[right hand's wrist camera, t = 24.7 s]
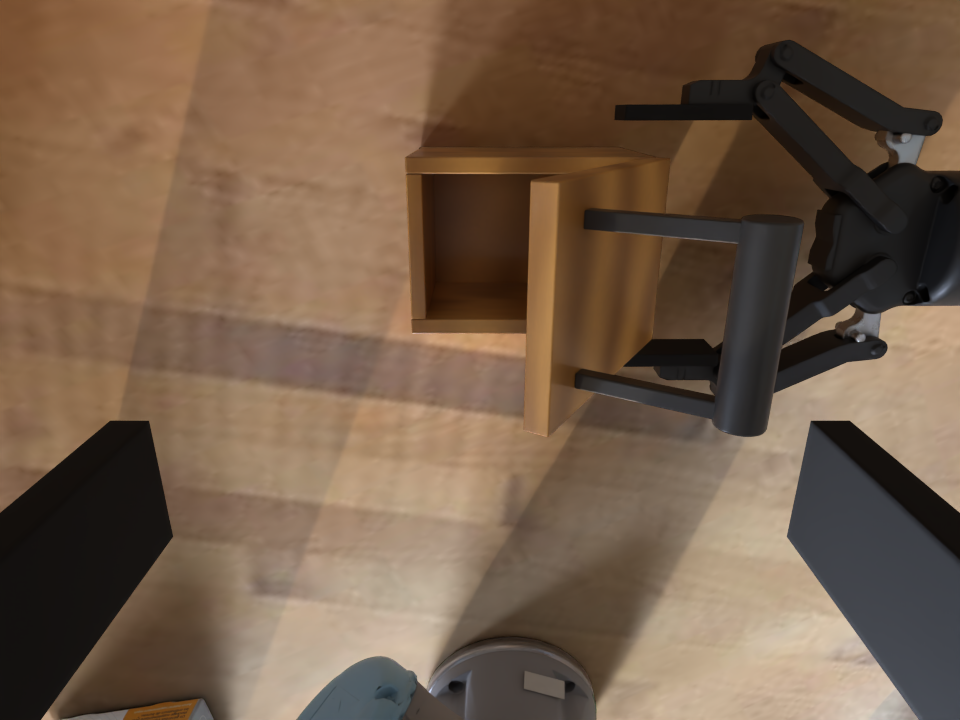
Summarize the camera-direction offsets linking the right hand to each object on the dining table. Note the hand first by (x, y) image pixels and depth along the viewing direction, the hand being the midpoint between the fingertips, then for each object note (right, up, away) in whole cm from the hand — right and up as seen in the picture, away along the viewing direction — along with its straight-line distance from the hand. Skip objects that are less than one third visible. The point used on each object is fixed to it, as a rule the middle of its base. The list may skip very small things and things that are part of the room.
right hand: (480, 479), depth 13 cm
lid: (+5, +6, +16) cm, 18 cm away
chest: (+3, +12, +30) cm, 32 cm away
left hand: (+7, +9, +23) cm, 26 cm away
